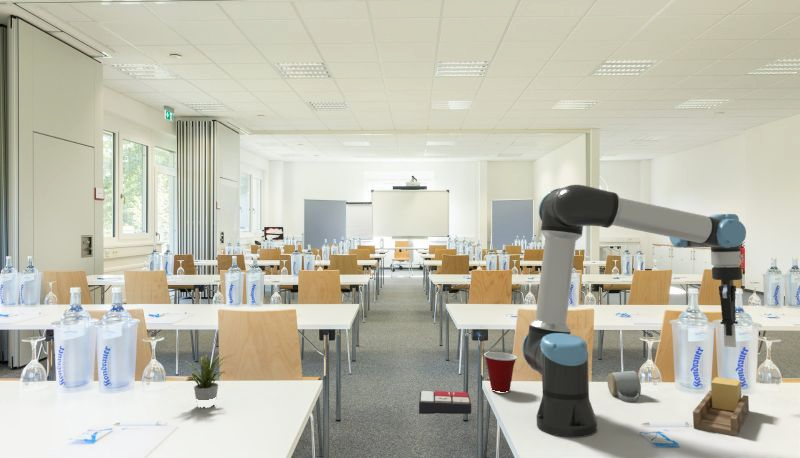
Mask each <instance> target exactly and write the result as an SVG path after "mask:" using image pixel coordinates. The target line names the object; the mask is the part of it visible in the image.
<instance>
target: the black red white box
mask: <svg viewBox="0 0 800 458" xmlns="http://www.w3.org/2000/svg"><path fill="white" fill-rule="evenodd" d="M418 400H419V401H418V414H419V415H434V414H441V415H442V414H443V415H444V414H446V415H452V414H453V415H466V414H467V415H470V414H472V402H471V397H470V394H468V392H465V391H464V392H463V391H461V392H460V391H443V390H442V391H441V390H435V391H432V390H431V391H427V390H425V391H424V390H422V391H420V392H419V399H418Z"/></svg>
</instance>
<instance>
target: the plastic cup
mask: <svg viewBox="0 0 800 458" xmlns="http://www.w3.org/2000/svg"><path fill="white" fill-rule="evenodd" d="M483 356H484V359H485V364H486V367H487V374H488V379H489V382H490V383H489V384H490V388H492V389H491V391H492V390H495V391H500V392H506V391H509V390H510V391H511V385H512V381H513V380H512V379H513V373H514V367H515V363H516V361H517V359H518V356H516V355H514V354H512V353H508V352H499V351H487V352H485V353H484V354H483ZM510 391H509V392H510Z"/></svg>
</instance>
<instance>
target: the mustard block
mask: <svg viewBox="0 0 800 458" xmlns="http://www.w3.org/2000/svg"><path fill="white" fill-rule="evenodd" d="M741 381H742V380H741V379H740V380H739V379H734V378H733V379H732V378H724V377H717V376H716V377H714V378H713V379H712V381H711V382H710V387H711V388H710V389H711V390H710V391H711V394H712V408H717V409H724V410H730V411H735V409H736V407H737V405H738V404H739V402H740V400H741V398H742V383H741Z"/></svg>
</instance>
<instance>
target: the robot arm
mask: <svg viewBox="0 0 800 458" xmlns="http://www.w3.org/2000/svg"><path fill="white" fill-rule="evenodd" d="M538 217H539V219H540V221H541V225H540V227H541V228H540V233H541V234H542V236H544V245H543V252H542V253H543V254H542V255H543V256H542V260H541V261H542V262H541V268H540V269H541V271H540V278H539V279H540V280H539V287H538V295H537V296H538V297H537V302H536V303H537V304H536V312H535V318H534V320H532V321H531V322H530V323H529V324H528V325H529V326H528V333H527V334H526V336H524V339H523V341H522V347H521V351H522V352H521V353H522V356H523V359H524V360H525V362H526V363H527V365H529V367H530V368H531V369H532V370H534V371H535V372H537V373H539V374H540V375H541V380H542V381H541V382H542V383H541V385H542V386H541V387H542V397H541V400H540V404H539V406H538V407H539V408H538V410H537V414H536V426H537V428H538V429H539V430H541V431H542V432H545V433H547V434H550V435H554V436H559V437H567V438H568V437H571V438H580V437H588V436H591V435H594V434H595V433H596V432H597V431H598V420H597V417H596V414H595V412H594V408H593V407H592V403H591V400H590V395H589V394H590V387H589V385H590V384H589V383H590V382H589V381H590V380H589V350H588V345H587V343H586V341H585V339H583V338H582V337H580V336H577V335H573V334H571V329H570V327H569V326H568V325H567V319H568V309H569V301H570V292H571V282H572V275H573V267H574V258H575V251H576V243H577V241H578V240H579V239H581V237H582V236H583V230H584V227H590V226H591V227H600V228H601V227H602V228H607V229H608V228H611V227H612V226H616V227H621V228H624V229H629V230H635V231H640V232H645V233H650V234H654V235H659V236H664V237H669V241H670V243H671V245H672V246H673V247H675V248H684V249H687V248H710V259H711V261H710V263H711V266H713V267H711V274H712V275H711V277H712V279H713V280H716V281H717V280H718V281H720V285H719V286H718V292H719V294H718V295H719V298H720V309H721V321H720V322H719V323H720V325H723V339H724V340H723V343H724V347H726V348H727V347H729V348H736V347H737V337H736V324H737V325H738V324H739V322H738V321H736V320H737V317H736V316H737V315H736V298H737V296H736V295H737V294H736V293H737V286H736V285H734V281H740V280H742V279H743V268H742V267H741V266H740V265H742V259H743V258H744V255H743V254H742V253H741V249H742V247H741V245H742V243H744V241H745V240H746V237H747V231H746V227H745V225H744V224H743V223H742V221H740V217H739V216H738V215H737V214H736V213H726V214H724V213H721V214H719V213H718V214H712V215H709V216H707V215H702V214H700V213H699V214H697V213H694V212H689V211H684V210H679V209H673V208H671V207H670V208H669V207H666V206H665V207H664V206H661V205H660V206H659V205H656V204H651V203H646V202H641V201H637V200H636V201H635V200H631V199H628V198H623V197H620V196H619V194H618V193H616V192H612V191H609V190H605V189H601V188H596V187H592V186H588V185H584V184H570V185H567V186H564V187H561V188H560V187H559V188H555V189H552V190H551V191H549V192H548V193H547V194H546V195H544V196H543V198H541V201H540V202H539V204H538Z"/></svg>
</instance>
